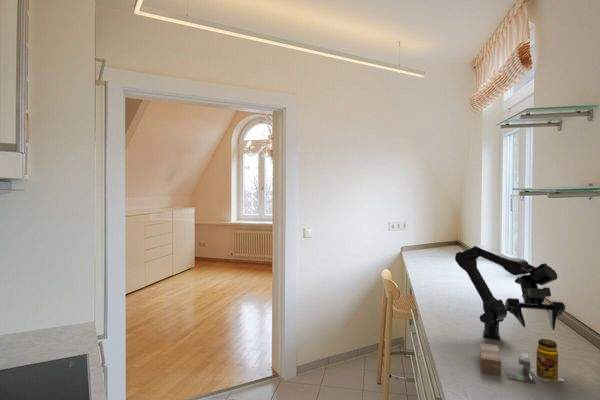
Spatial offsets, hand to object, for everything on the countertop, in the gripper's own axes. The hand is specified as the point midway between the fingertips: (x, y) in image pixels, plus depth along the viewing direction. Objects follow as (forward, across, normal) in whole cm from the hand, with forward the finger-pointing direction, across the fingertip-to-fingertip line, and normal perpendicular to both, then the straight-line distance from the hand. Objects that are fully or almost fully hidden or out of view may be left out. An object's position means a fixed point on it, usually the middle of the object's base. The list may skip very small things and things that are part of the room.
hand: (538, 328), depth 134 cm
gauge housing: (+14, -12, +5) cm, 19 cm away
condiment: (+15, 0, +4) cm, 16 cm away
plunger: (+15, -7, +3) cm, 17 cm away
